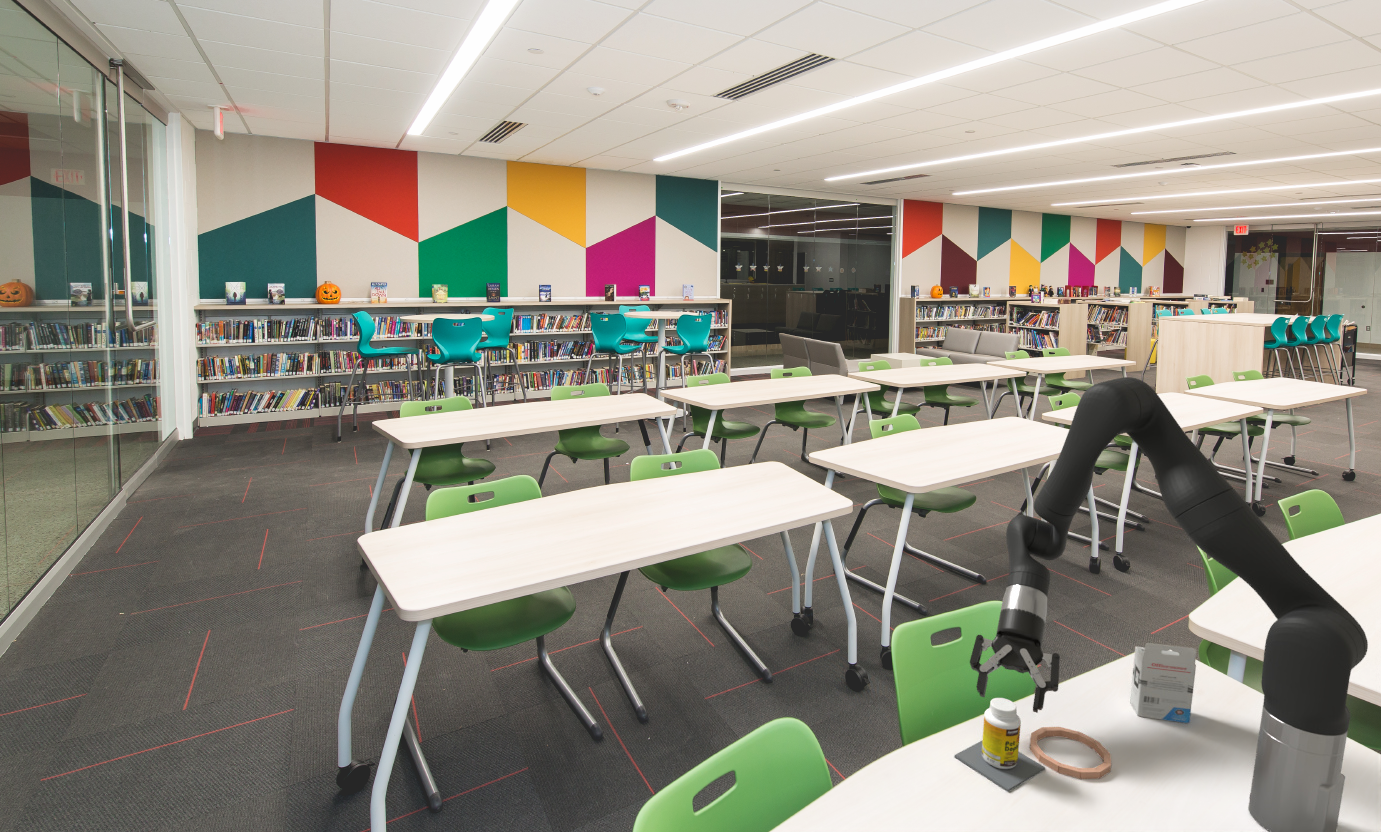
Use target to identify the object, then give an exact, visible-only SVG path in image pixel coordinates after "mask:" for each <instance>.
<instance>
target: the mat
mask: <svg viewBox="0 0 1381 832" xmlns="http://www.w3.org/2000/svg"><path fill="white" fill-rule="evenodd" d="M982 741H983V739H982V740H980V741H979V742H977V743H976V742H975V743H974V744H973V745H971V746H969V747H967V748H965V749H963V750H961V751H960V752H957V753H956V754H954V758H955V759H957V760H958V761H959V762H961V763H962V764H964V765H965V766H967V767H969V768H970V769H972V770H973V771H975V772H977V774H980V775H981V776H983V777H984V778H985V779H987V780H989V781H991V782H992V783H993V784H995V785H996V786H998V787H1000V788H1001V789H1002V790H1004V791H1005V792H1007V793H1009V792H1010V791H1012V790H1013V789H1015V788H1017V787H1019V786H1020V785H1022V784H1023V783H1025V782H1026V781H1029V780H1031V779H1033V777H1035V776H1037V775H1038V774H1040V773H1042V772H1043V771H1045V770H1046V767H1045V765H1042V763H1040V762H1038V761H1036V760H1034V759H1033V758H1030V757H1029V756H1027V755H1025V754H1023V753H1022V752H1020V751H1019V750H1018V761H1017V764H1016V766H1015V767H1013V768H1011V769H1000V768H996V767H994V766H992V765H990V764H989V763H987V762H986V761H985V760H984V758H983V756H982Z"/></svg>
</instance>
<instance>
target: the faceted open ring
mask: <svg viewBox="0 0 1381 832" xmlns="http://www.w3.org/2000/svg"><path fill="white" fill-rule="evenodd" d="M1047 737H1049V738H1051V737H1055V738H1056V737H1061V738H1065V739H1068V740H1069V739H1070V740H1073V741H1076V742H1079V743H1081V744H1083V745H1085V746H1087V747H1089V748H1090V749H1093V751H1095V752H1096V754H1097V755H1098V756H1099V757H1100V758H1101V759H1102V763H1101V764H1099V765H1097V766H1096V767H1076V766H1072V765H1069V764H1065V763H1061V762H1059V761H1058V760H1056V759H1054V758H1052V757H1051V756H1049V755H1047V754H1046V753H1045V752H1044V751H1043V750H1042V749H1041V748H1040V746H1039V745H1038V742H1039V741H1040V740H1043V739H1044V738H1047ZM1029 742H1030V743H1029V750H1030V752H1031V753H1032V755H1033V756H1034V757H1035V758H1036V759H1037V762H1038V763H1040V764H1041V765H1042V764H1043V766H1046V767H1048V769H1051V770H1052V771H1054V772H1056V773H1058V774H1062V775H1064V776H1068V777H1072V778H1076V779H1078V780H1089V779H1090V780H1094V779H1098V780H1099V779H1102V778H1103V777H1104V776H1106V775H1107V774H1109V773H1111V771H1112V769H1111V768H1112V757H1111V753H1110V752H1109V750H1108V749H1106V747H1105V746H1104V745H1102V744H1101V742H1099V741H1098V740H1096V739H1095V738H1092V737H1091V736H1089V735H1087V734H1085V733H1083V732H1082V731H1081V732H1080V731H1078V730H1073V729H1071V728H1066V727H1061V726H1043V727H1039V728H1038V729H1036V730H1033V732H1031V734H1030V741H1029Z"/></svg>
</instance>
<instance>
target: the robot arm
mask: <svg viewBox="0 0 1381 832" xmlns="http://www.w3.org/2000/svg"><path fill="white" fill-rule="evenodd" d="M1123 434H1127V435H1128V436H1129V438H1130V439H1131V440H1133V441H1134V442H1135V444H1136V445H1137V446H1138V447H1139V448H1140V451H1142V452H1143V453H1144V454H1145V456H1146V457H1147V459H1148V460H1149V462H1150V464H1151V466H1152V468H1153V472H1154V474H1155V477H1156V481H1157V485H1158V489H1159V492H1160V495H1161V497H1162V498H1161V499H1162V500H1163V503H1164V505H1165V507H1166V509H1167V510H1168V511H1167V512H1169V514H1170V515H1171V517H1172V518H1173V519H1174V520H1175V521H1176V522H1177V524H1178V525H1179V527H1180V528H1182V530H1183V532H1185V535H1187V536H1188V538H1190V539H1191V541H1192V542H1193V543H1194V544H1195V545H1196V546H1197V547H1198V548H1199V549H1200V550H1201V551H1202V552H1204V553H1205V554H1206V555H1208V556H1209V557H1210V558H1211V559H1213V560H1214V561H1216V562H1217V563H1219V564H1220V565H1222V566H1223V567H1225V568H1226V569H1227V570H1229V571H1230V572H1231V573H1233V574H1235V575H1236V576H1237V577H1239V578H1240V579H1241V580H1243V581H1244V583H1246V584H1247V585H1249V587H1250V588H1251V589H1253V590H1254V592H1255V593H1256V594H1257V595H1258V596H1259V598H1261V600H1262V601H1263V602H1264V603H1265V605H1266V606H1267V608H1268V609H1269V610H1270V612H1271V613H1272V614H1273V616H1274V617H1275V618H1276V619H1277V620H1275V621H1274V622H1273V624H1271V626H1270V628H1269V630H1268V631H1267V635H1266V640H1265V644H1264V651H1263V662H1262V672H1261V681H1260V682H1261V684H1260V685H1261V690H1262V693H1263V697H1264V698H1263V702H1262V703H1263V704H1262V711H1261V718H1260V723H1259V731H1258V736H1257V737H1258V738H1257V745H1256V751H1255V759H1254V765H1253V766H1254V767H1253V771H1252V772H1253V773H1252V780H1251V786H1250V787H1251V788H1250V792H1249V793H1250V794H1249V798H1248V799H1249V800H1248V801H1249V802H1248V811H1249V815H1250V816H1251V817H1252V818H1253V820H1255V821H1256V823H1258V824H1259V825H1260V826H1261V827H1262V828H1263V829H1266V830H1267V831H1268V832H1337V830H1338V829H1337V828H1338V822H1339V817H1340V810H1341V805H1342V799H1343V793H1344V787H1345V783H1346V782H1345V780H1346V776H1345V774H1344V773H1342V770H1343V769H1342V768H1343V761H1344V756H1345V750H1346V749H1345V748H1346V743H1347V738H1348V731H1349V727H1350V721H1351V711H1350V709H1349V708H1348V706H1347V698H1348V692H1349V686H1350V685H1349V683H1350V679H1351V672H1352V670H1353V669H1354V668H1355V667H1356V666H1357V665H1358V664H1360V663H1361V662H1362V661H1363V660H1364V658H1365V657H1366V655H1367V653H1368V649H1369V648H1368V645H1369V644H1368V643H1369V642H1368V638H1367V635H1366V632H1365V630H1364V628H1363V627H1362V626H1361V624H1360V623H1359V622H1358V620H1357V619H1356V618H1355V616H1353V615H1352V614H1351V613H1350V612H1349V611H1348V610H1347V609H1346V608H1344V606H1343V605H1341V604H1340V603H1339V602H1338V601H1337V600H1336V599H1335V598H1334V597H1333V596H1332V595H1331V594H1330V593H1329V592H1327V590H1326V589H1325V588H1323V587H1322V586H1321V585H1320V584H1319V583H1318V582H1317V581H1316V580H1315V579H1314V578H1313V577H1312V576H1311V575H1310V574H1309V573H1308V572H1306V570H1305V569H1304V568H1303V567H1302V566H1301V565H1300V564H1299V563H1298V562H1297V561H1296V559H1294V557H1293V555H1291V554H1290V552H1289V551H1288V550H1287V549H1286V547H1285V546H1284V545H1283V544H1282V543H1281V541H1280V540H1279V539H1278V538H1277V537H1276V536H1275V535H1274V533H1273V532H1271V530H1270V529H1269V528H1268V527H1267V525H1265V523H1264V522H1263V521H1262V520H1261V518H1259V516H1258V515H1257V514H1256V512H1255V511H1254V510H1253V508H1252V507H1251V506H1250V505H1249V504H1248V503H1247V502H1246V501H1245V499H1244V498H1243V497H1242V496H1241V495H1240V494H1239V492H1237V491H1236V489H1235V488H1234V487H1233V486H1232V485H1231V484H1230V482H1228V481H1227V480H1226V479H1225V477H1223V476H1222V474H1221V473H1220V472H1219V471H1218V470H1217V469H1216V467H1215V466H1214V465H1213V464H1212V462H1211V461H1210V460H1209V459H1208V458H1207V456H1205V455H1204V453H1203V452H1202V451H1201V450H1200V449H1199V448H1198V446H1196V445H1195V444H1194V442H1193V441H1192V440H1191V438H1189V436H1188V435H1187V434H1186V433H1185V431H1184V429H1182V427H1181V426H1180V424H1179V423H1178V422H1177V420H1176V419H1175V417H1174V416H1173V414H1172V413H1171V411H1170V410H1169V408H1168V407H1167V405H1166V404H1165V403H1164V402H1163V400H1162V399H1161V398H1160V396H1159V395H1158V393H1157V392H1156V391H1155V390H1154V389H1153V388H1152V386H1151V385H1149V384H1148V383H1146V381H1143V380H1142V379H1140V378H1136V377H1133V376H1132V377H1131V376H1127V377H1126V376H1125V377H1124V376H1123V377H1118V378H1114V379H1111V380H1110V379H1109V380H1106V381H1105V380H1104V381H1100V382H1097V383H1095V384H1093V385H1092V386H1090V387H1088V388H1087V389H1086V390H1085V391H1084V393H1082V396H1081V398H1080V399H1079V401H1078V405H1077V407H1076V409H1075V412H1074V415H1073V418H1072V421H1071V424H1070V427H1069V429H1068V432H1067V434H1066V438H1065V441H1064V443H1063V446H1062V449H1061V451H1060V453H1059V456H1058V458H1057V460H1056V462H1055V464H1054V466H1053V468H1052V470H1051V472H1050V473H1049V475H1048V477H1047V478H1046V480H1045V481H1044V483H1043V485H1042V487H1041V488H1040V491H1039V492H1038V494H1037V496H1036V497H1035V499H1034V502H1033V510H1034V511H1035V513H1036V515H1038V516H1039V517H1040V518H1041V519H1042V520H1041V519H1038V518H1036V517H1032V516H1029V515H1026V514H1017V515H1015V516H1014V517H1013V518H1011V520H1010V521H1009V523H1008V524H1007V527H1006V532H1005V534H1006V535H1005V537H1006V538H1005V539H1006V546H1007V547H1006V548H1007V554H1008V562H1009V563H1008V564H1009V572H1008V577H1007V582H1006V583H1007V584H1006V588H1005V593H1004V594H1003V598H1002V600H1001V601H1002V602H1001V607H1000V612H999V618H998V624H997V629H996V634H995V637H994V638H993V640H992V639H989V638H985V637H984V636H983V635H982V634H977V635H976V636H975V641H974V644H973V648H972V653H971V655H970V659H969V665H970V668H971V669H972V670H973V671H975V672H977V674H978V676H977V681H976V690H977V693H978V694H979V696H980V697H981V698H985V697H986V691H987V686H988V681H989V675H990V674H991V673H993V671H996V670H998V669H999V668H1000V667H1003V668H1004V669H1005V670H1008V671H1016V672H1018V673H1020V674H1025V673H1028V674H1029V676H1030V677H1031V679H1032V681H1033V682H1034V684H1035V686H1036V687H1035V692H1034V698H1033V704H1032V712H1034V713H1035V714H1036V713H1037V714H1038V713H1039V711H1042V710H1043V709H1044V704H1045V695H1046V693H1047V692H1055V693H1056V692H1058V691H1059V682H1060V666H1061V665H1060V664H1061V655H1060V654H1059V653H1056V652H1054V653H1045V652H1043V650H1042V646H1043V640H1044V634H1045V633H1044V632H1045V626H1046V621H1047V613H1048V612H1047V611H1048V596H1049V590H1050V589H1049V588H1050V583H1051V572H1050V569H1048V567H1047V566H1045V565H1044V564H1042V563H1041V562H1039V561H1037V560H1036V559H1035V558H1034V557H1037V558H1039V559H1042V560H1044V561H1045V560H1046V561H1054V560H1057V559H1058V558H1060V557H1062V555H1063V554H1064V552H1065V551H1066V550H1065V549H1066V546H1067V540H1068V535H1069V530H1070V528H1071V527H1070V526H1071V524H1072V522H1073V519H1074V517H1075V515H1076V514H1077V512H1078V511H1079V509H1080V507H1081V506H1082V504H1083V503H1084V502H1085V499H1086V497H1087V496H1088V494H1089V492H1090V489H1091V486H1092V482H1093V477H1094V471H1095V466H1096V463H1097V461H1098V459H1099V458H1100V456H1101V454H1102V453H1103V451H1104V450H1105V449H1106V448H1107V447H1108V445H1109V444H1110V443H1112V441H1113V440H1114V439H1116V437H1117V436H1119V435H1123ZM1032 556H1033V557H1032ZM988 648H991V649H992V651H993V652H994V654H993V655H992V656H990V658H989V659H988V660H986V661H985V662H984V663H980V662H981V657H982V654H983V652H985V651H987V650H988ZM1043 661H1045V662H1046V663H1045V664H1046V666H1047V667H1048V668H1050V680H1047V681H1046V680H1044V678H1043V677H1042V675H1041V673H1040V671H1039V669H1038V667H1037V665H1039V664H1040V663H1042V662H1043Z"/></svg>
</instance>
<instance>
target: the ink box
mask: <svg viewBox="0 0 1381 832" xmlns="http://www.w3.org/2000/svg"><path fill="white" fill-rule="evenodd" d="M1144 644H1145V645H1144V647H1142V646H1134V657H1133V668H1132V676H1131V688H1130V696H1129V704H1130V706H1131V707H1132V709H1133V710H1134V712H1135V715H1137V716H1138V717H1141V718H1149V719H1154V720H1155V719H1156V720H1161V721H1162V720H1163V721H1170V722H1178V723H1185V724H1190V721H1191V713H1192V705H1193V697H1194V695H1193V694H1194V687H1195V679H1196V678H1195V677H1196V668H1197V665H1196V659H1197V652H1198V651H1197V649H1196V648H1195V647H1187V646H1179V645H1173V644H1172V645H1170V644H1161V643H1152V642H1147V643H1144Z"/></svg>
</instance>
